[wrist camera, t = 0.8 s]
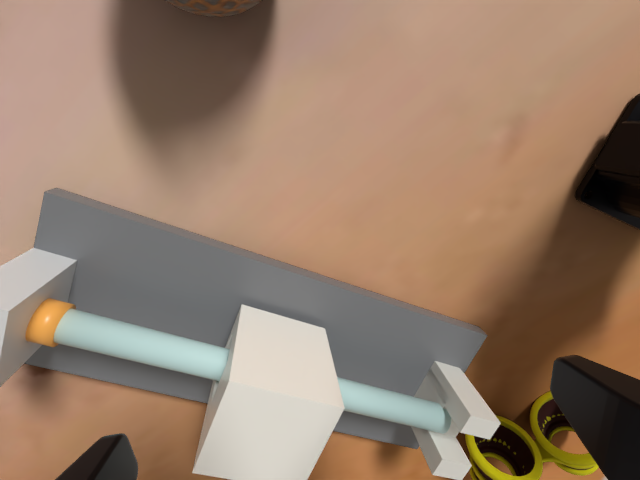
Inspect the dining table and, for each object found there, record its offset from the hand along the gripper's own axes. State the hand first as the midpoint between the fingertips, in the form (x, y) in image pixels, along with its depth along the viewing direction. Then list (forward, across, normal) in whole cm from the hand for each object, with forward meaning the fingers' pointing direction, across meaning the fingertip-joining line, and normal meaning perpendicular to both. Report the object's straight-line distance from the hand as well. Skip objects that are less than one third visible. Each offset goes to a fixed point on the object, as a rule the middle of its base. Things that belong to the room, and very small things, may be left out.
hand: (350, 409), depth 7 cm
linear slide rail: (+13, +3, +7) cm, 15 cm away
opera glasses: (+14, -14, +19) cm, 27 cm away
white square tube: (+12, +3, +7) cm, 14 cm away
